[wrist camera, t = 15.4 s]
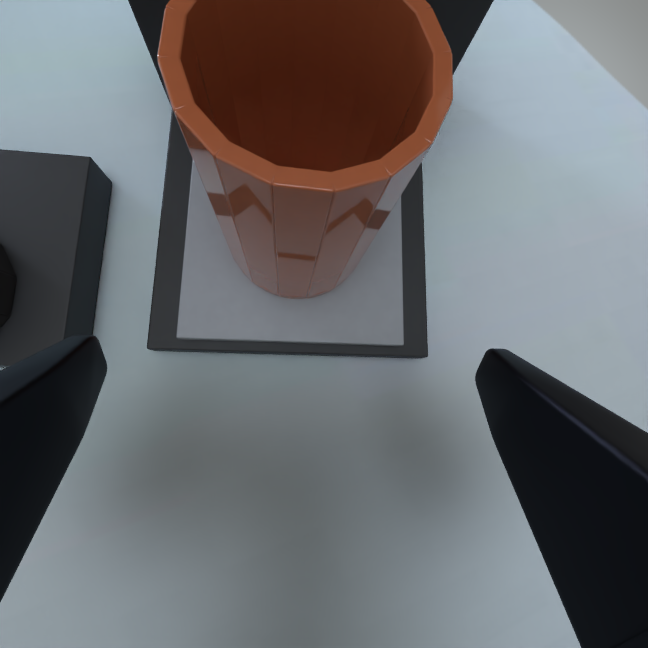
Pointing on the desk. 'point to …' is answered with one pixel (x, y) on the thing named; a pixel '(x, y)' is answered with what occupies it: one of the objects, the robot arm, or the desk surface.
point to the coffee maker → (274, 311)
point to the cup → (305, 123)
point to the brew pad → (48, 249)
